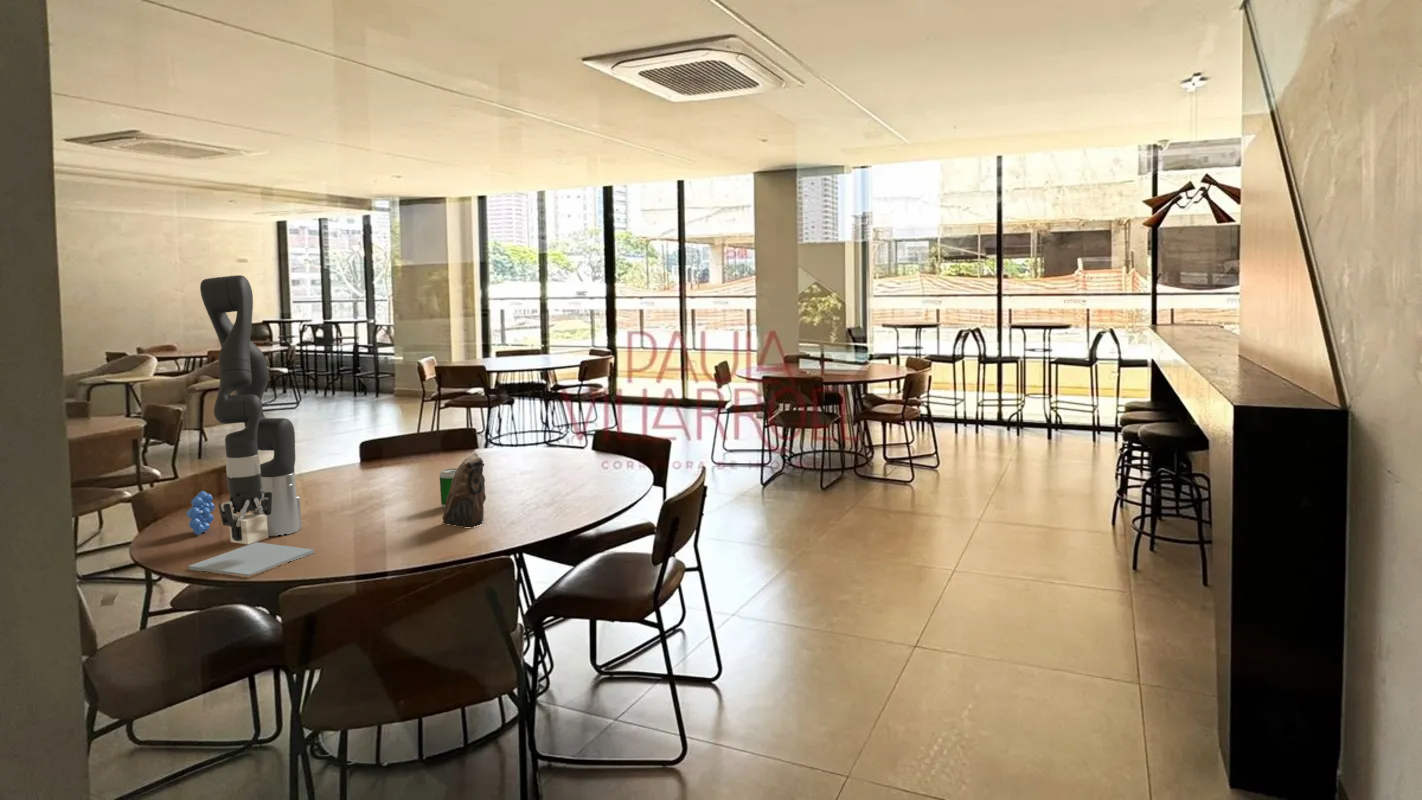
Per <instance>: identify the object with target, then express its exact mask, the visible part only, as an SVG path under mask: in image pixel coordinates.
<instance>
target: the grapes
mask: <svg viewBox="0 0 1422 800" xmlns="http://www.w3.org/2000/svg"><path fill="white" fill-rule="evenodd" d="M213 499H214V498H213V496H212V494H211V493H207V491H204V490H201V491H200V492H198V493H197V495H196V496H195V497H194V498H193V499H192V500H191V501H190V503H191V505H192V507H190V508H189V509H188V510H187V511H186V513H185V515H186V517H187V518H188V519H189V520H190V521H189V522H188V526H189V527H190V528H191V529H192V532H193V533H194V534H195V535H197V536H200V535H201V534H203V533H202V532H204V533H206V532H208V530H210V528H211V526H210V524H211V523H213V521H214V520H215V517H214V515H213V514H212V512H214V510H215V509H216V505H215V504H214V503H213V502H212V501H213ZM205 531H206V532H205Z"/></svg>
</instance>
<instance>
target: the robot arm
mask: <svg viewBox="0 0 1422 800" xmlns="http://www.w3.org/2000/svg"><path fill="white" fill-rule="evenodd" d="M199 289H200V296H201V300H202V302H203V305H204V308H205V310H206V312H207V316H209V320H210V322H211V324H212V326H213V329H214V332H215V333H216V336H217V339H218V341H219V344H220V347H221V348H220V350H219V355H218V369H219V385H218V386H219V387H218V392H217V395H216V400H215V402H214V407H213V415H214V418H215V419H216V421H217V422H218V423H220V424H224V425H228V424H229V425H230V424H240V423H242V424H244V428H243V429H241V430H237V431H233V432H231V433H228V434H226V435H225V439H224V445H225V457H226V458H225V459H226V461H225V467H226V468H225V469H226V478H227V479H226V481H227V491H228V493H229V495H230V497H229V500H227V501H226V502H220V503H218V508H219V514H220V518H221V523H222V525H223V526H224V527H225V526H227V527H229V526H231V531H232V538H233V539H234V540H235V541H241V540H242V532H241V526H240V524H241V520H242V518H244V516H245V514H248V513H252V514H259V515H266V516H267V528H268V537H279V536H278V535H281V536H285V535H284V534H287V535H291V534H294V533H296V532H298V531H299V530H300V529H302V528H303V526H302V525H303V522H302V515H301V514H302V512H301V511H302V510H301V500H300V499H301V498H300V496H299V495H297V488H296V487H297V486H296V485H297V484H296V473H295V464H296V431H295V427H294V424H293V423H292V421H291V420H290V419H289V418H284V417H282V418H281V417H266V416H265V414H264V412H263V402H262V400H263V396H264V394H265V391H266V388H267V386H268V383H269V380H270V371H269V368H268V365H267V362H266V361H267V360H266V358H265V356H264V353H263V352H262V350H261V348H259V347H258V346H257V344H255V343H254V342H253V341H252V340H251V334H252V325H253V324H252V323H253V310H254V308H253V307H254V299H253V298H254V297H253V296H254V294H253V290H252V286H251V284H250V281H249V280H248V278H247V277H245V276H244V275H240V274H239V275H238V274H237V275H228V276H227V275H226V276H217V277H210V278H205V279H203V280H201V282H200V286H199ZM234 312H236V315H235V316H236V317H235V318H236V319H235V320H234V324H233V323H232V321H231V320H230V318H229V317H228V314H227V313H234ZM233 392H236V394H233V395H231V394H232V393H233ZM259 451H270V452H271V451H273V457H272V458H271V460H269V461H265V462H263V463H261V462H260V457H259ZM236 518H237V519H236ZM235 520H236V522H235Z"/></svg>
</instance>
